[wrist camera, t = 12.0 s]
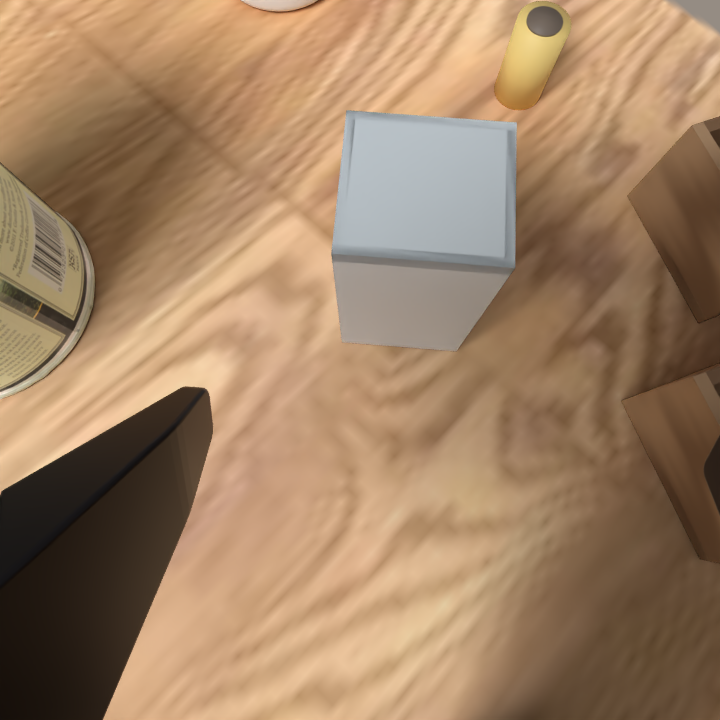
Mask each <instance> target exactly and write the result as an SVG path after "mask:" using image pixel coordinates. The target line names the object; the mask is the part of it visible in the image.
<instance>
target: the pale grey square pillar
mask: <svg viewBox="0 0 720 720" xmlns="http://www.w3.org/2000/svg"><path fill="white" fill-rule="evenodd" d="M516 131H517V123H515V122H501V121H487V120H473V119H459V118H445V117H431V116H418V115H404V114H390V113H376V112H362V111H348V110H347V111H346V120H345V130H344V139H343V149H342V158H341V168H340V177H339V187H338V196H337V206H336V215H335V225H334V234H333V243H332V253H331V254H332V263H333V271H334V280H335V288H336V296H337V305H338V313H339V322H340V330H341V339H342V342H346V343H359V344H371V345H384V346H396V347H408V348H421V349H433V350H446V351H457V350H458V348H459V347H460V345H461V344H462V343H463V341H464V340H465V338H466V337H467V335H468V334H469V333H470V331H471V330H472V328H473V327H474V326H475V324H476V323H477V321H478V320H479V318H480V317H481V316H482V314H483V313H484V311H485V310H486V309H487V307H488V306H489V304H490V303H491V301H492V300H493V299H494V297H495V296H496V294H497V293H498V292H499V290H500V289H501V287H502V286H503V284H504V283H505V282H506V280H507V279H508V277H509V276H510V275H511V273H512V272H513V270H514V269H515V235H516Z"/></svg>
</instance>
